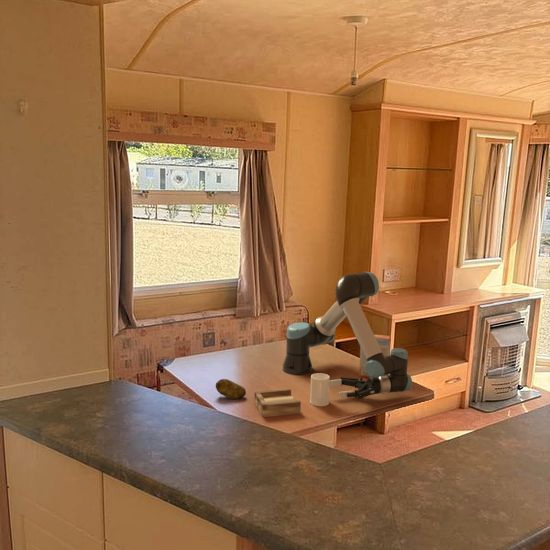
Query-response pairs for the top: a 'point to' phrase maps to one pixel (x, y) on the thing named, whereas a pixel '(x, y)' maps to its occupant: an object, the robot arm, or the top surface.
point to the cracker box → (385, 348)
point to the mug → (319, 389)
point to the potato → (230, 389)
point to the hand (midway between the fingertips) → (333, 389)
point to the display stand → (276, 403)
